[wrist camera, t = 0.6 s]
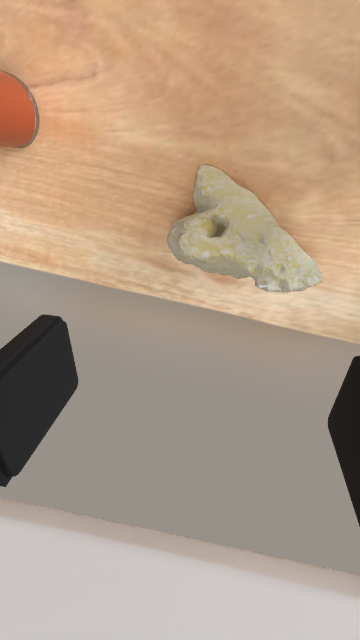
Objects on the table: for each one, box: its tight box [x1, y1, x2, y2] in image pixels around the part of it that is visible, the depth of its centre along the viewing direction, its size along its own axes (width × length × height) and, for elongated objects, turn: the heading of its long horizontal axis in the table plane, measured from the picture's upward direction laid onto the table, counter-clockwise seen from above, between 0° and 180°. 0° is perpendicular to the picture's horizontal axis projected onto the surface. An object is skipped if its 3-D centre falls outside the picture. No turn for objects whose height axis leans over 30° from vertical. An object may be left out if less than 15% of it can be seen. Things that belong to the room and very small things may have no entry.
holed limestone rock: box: [168, 165, 324, 292], centre depth 33 cm, size 15×7×15 cm
